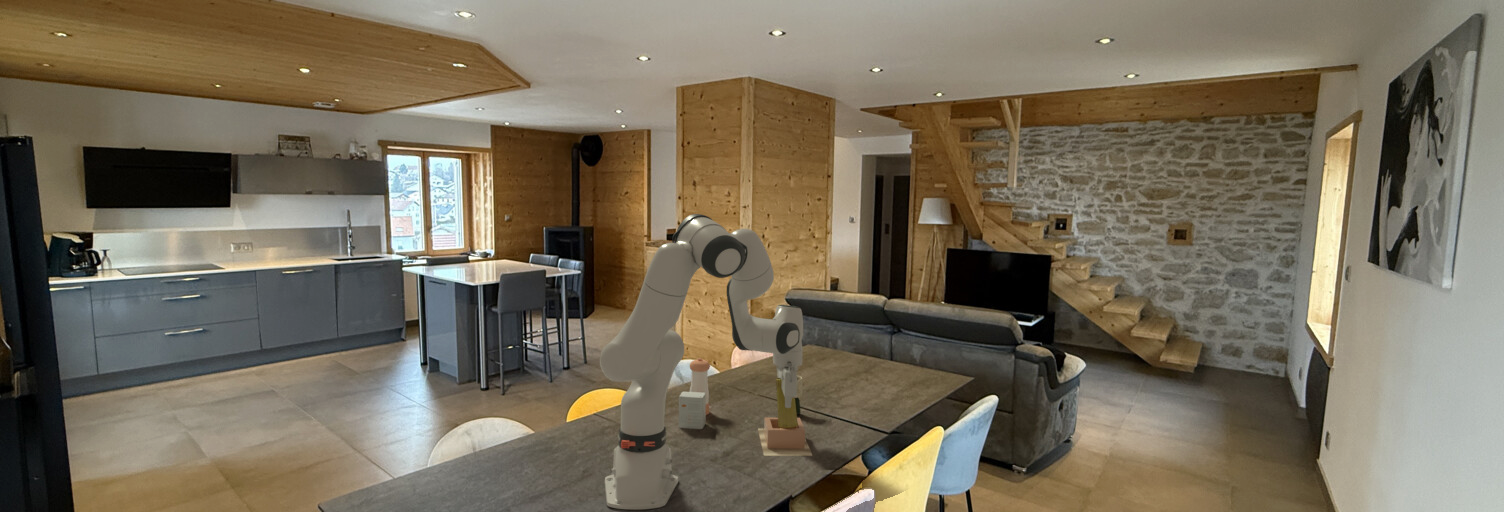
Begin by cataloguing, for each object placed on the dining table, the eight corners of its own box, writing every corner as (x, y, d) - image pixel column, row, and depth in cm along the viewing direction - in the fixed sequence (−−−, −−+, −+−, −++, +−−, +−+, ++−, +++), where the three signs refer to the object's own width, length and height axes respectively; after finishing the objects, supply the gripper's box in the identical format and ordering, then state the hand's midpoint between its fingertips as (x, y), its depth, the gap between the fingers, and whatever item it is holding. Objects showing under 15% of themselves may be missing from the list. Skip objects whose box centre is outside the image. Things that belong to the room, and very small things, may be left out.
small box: (705, 423, 213) (706, 392, 212) (702, 429, 207) (703, 397, 206) (681, 422, 213) (682, 390, 213) (678, 428, 208) (678, 396, 207)
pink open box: (804, 448, 191) (805, 430, 191) (767, 448, 190) (767, 430, 190) (799, 434, 202) (799, 417, 202) (764, 434, 201) (764, 417, 201)
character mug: (774, 411, 228) (775, 374, 227) (791, 408, 231) (792, 372, 230) (791, 420, 218) (792, 382, 217) (808, 417, 222) (810, 380, 221)
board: (812, 459, 186) (812, 455, 186) (763, 459, 185) (763, 455, 185) (801, 431, 208) (801, 428, 208) (757, 431, 207) (757, 428, 207)
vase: (797, 427, 191) (793, 379, 192) (776, 428, 192) (773, 380, 193) (799, 423, 197) (795, 376, 198) (779, 424, 198) (775, 377, 199)
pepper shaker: (684, 414, 221) (685, 359, 219) (692, 408, 228) (694, 354, 226) (704, 417, 219) (706, 361, 217) (712, 410, 226) (713, 356, 224)
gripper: (802, 367, 184) (801, 414, 185) (793, 350, 204) (792, 393, 205) (780, 367, 183) (779, 414, 185) (773, 350, 204) (772, 393, 205)
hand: (786, 403), depth 195 cm, fingers closed on vase, 6 cm apart
